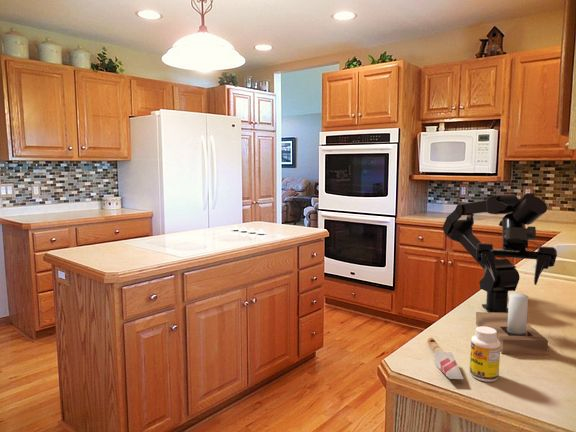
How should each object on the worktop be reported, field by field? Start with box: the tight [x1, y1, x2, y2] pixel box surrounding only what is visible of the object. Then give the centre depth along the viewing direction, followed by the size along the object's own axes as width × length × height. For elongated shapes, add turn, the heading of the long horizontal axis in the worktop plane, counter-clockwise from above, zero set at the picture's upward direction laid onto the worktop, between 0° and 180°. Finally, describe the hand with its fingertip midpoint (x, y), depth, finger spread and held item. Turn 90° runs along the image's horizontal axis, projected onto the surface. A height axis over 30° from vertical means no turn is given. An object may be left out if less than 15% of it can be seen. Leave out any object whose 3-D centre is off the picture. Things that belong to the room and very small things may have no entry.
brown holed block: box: [475, 311, 549, 356], centre depth 109 cm, size 18×10×4 cm, turn 175°
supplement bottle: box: [469, 326, 501, 383], centre depth 90 cm, size 6×6×10 cm
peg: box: [507, 292, 529, 336], centre depth 105 cm, size 4×4×12 cm
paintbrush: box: [426, 337, 465, 380], centre depth 97 cm, size 4×3×20 cm
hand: (515, 282), depth 111 cm, fingers open, 9 cm apart
